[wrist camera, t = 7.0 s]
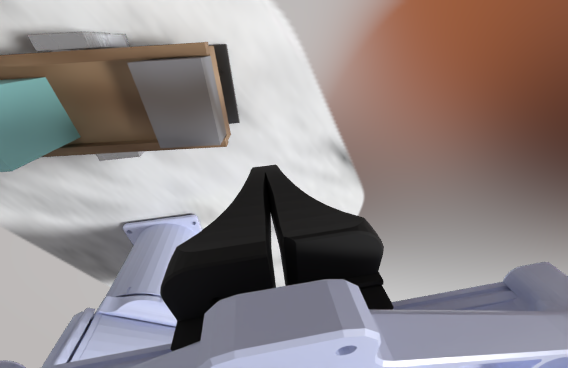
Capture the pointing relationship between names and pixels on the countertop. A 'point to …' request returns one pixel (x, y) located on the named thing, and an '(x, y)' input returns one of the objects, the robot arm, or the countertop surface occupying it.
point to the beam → (133, 96)
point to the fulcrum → (106, 40)
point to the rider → (31, 122)
